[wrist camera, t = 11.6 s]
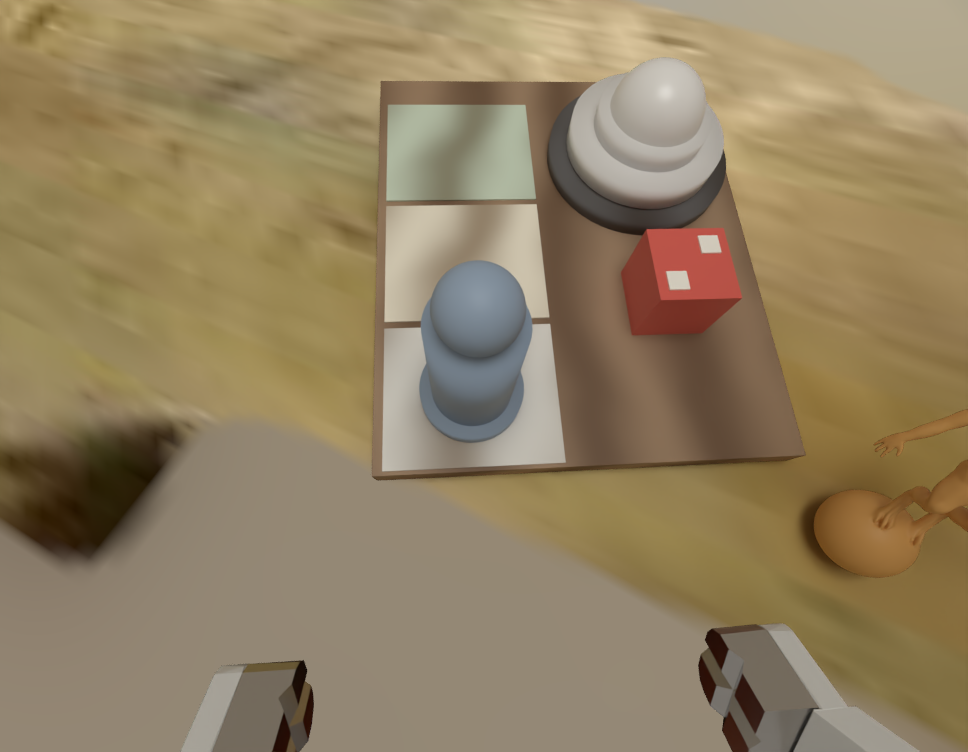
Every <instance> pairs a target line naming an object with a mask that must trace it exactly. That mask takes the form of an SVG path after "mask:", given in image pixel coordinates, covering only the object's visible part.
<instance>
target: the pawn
mask: <svg viewBox="0 0 968 752" xmlns="http://www.w3.org/2000/svg"><path fill="white" fill-rule="evenodd" d="M532 331H533V328H532V319H531V315H530V312H529V309H528V307H527V305H526V301H525V296H524V293H523V290H522V288H521V286H520V284H519V282H518V281H517V279H516V278H515V277H514V276H513V275H512V274H511V273H510V272H509V271H508V270H506V269H505V268H503V267H502V266H500V265H498V264H495V263H492V262H489V261H483V260H474V261H467V262H464V263H461V264H458V265H456V266H455V267H453V268H451V269H450V270H449V271H447V272H446V273H445V274H444V275H443V276H442V277H441V279H440V280H439V281H438V283H437V285H436V286H435V288H434V291H433V294H432V297H431V298H430V299H429V301H428V302H427V304H426V306H425V308H424V311H423V314H422V318H421V335H422V341H423V346H424V352H425V357H426V365H425V367H424V369H423V371H422V374H421V378H420V384H419V392H420V399H421V403H422V407H423V410H424V412H425V415H426V416H427V418H428V420H429V421H430V423H431V424H432V425H433V426H434V427H435V428H436V429H437V430H438V431H439V432H440V433H442V434H443V435H445V436H447V437H449V438H451V439H453V440H456V441H460V442H466V443H476V442H483V441H487V440H490V439H492V438H494V437H496V436H498V435H500V434H501V433H502V432H504V431H505V430H506V429H507V428H508V427H509V426H510V425H511V424H512V422H513V421H514V419H515V418H516V416H517V414H518V412H519V409H520V407H521V404H522V401H523V396H524V382H523V377H522V374H521V368H522V365H523V362H524V359H525V356H526V353H527V351H528V348H529V345H530V342H531V338H532Z"/></svg>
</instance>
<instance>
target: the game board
mask: <svg viewBox="0 0 968 752" xmlns="http://www.w3.org/2000/svg"><path fill="white" fill-rule="evenodd" d="M595 83H597V82H449V81H381V97H380V141H379V185H378V229H377V273H376V317H375V361H374V405H373V449H372V477H373V478H374V479H376V480H396V479H416V478H437V477H457V476H477V475H497V474H517V473H537V472H558V471H578V470H598V469H618V468H638V467H658V466H678V465H699V464H719V463H739V462H759V461H779V460H789V459H793V458H797V457H801V456H805V455H806V454H805V451H804V447H803V443H802V440H801V436H800V433H799V429H798V426H797V422H796V419H795V415H794V412H793V408H792V404H791V401H790V397H789V394H788V390H787V387H786V383H785V380H784V376H783V373H782V369H781V366H780V362H779V358H778V355H777V351H776V348H775V344H774V341H773V337H772V334H771V330H770V327H769V323H768V319H767V316H766V312H765V309H764V305H763V302H762V298H761V295H760V291H759V288H758V284H757V281H756V277H755V273H754V270H753V266H752V263H751V259H750V256H749V252H748V249H747V245H746V242H745V238H744V235H743V231H742V227H741V224H740V220H739V217H738V213H737V210H736V206H735V203H734V199H733V196H732V192H731V188H730V185H729V181H728V178H727V174H726V159H725V154H724V149H723V153H722V156H721V159H720V161H719V163H718V165H717V166H716V168H715V169H714V171H713V172H712V174H711V175H710V177H709V178H708V179H707V181H706V182H705V184H704V185H703V187H702V188H701V189H700V190H699V191H698V192H697V193H696V194H695V195H694V196H693V197H691V198H690V199H688V200H686V201H684V202H682V203H680V204H678V205H674V206H671V207H667V208H661V209H639V208H633V207H628V206H625V205H621V204H618V203H616V202H613V201H611V200H609V199H607V198H605V197H603V196H601V195H600V194H598V193H597V192H595V191H594V190H593V189H591V188H590V187H589V186H588V185H587V184H586V183H585V182H584V181H583V180H582V179H581V178H580V177H579V175H578V174H577V173H576V171H575V170H574V168H573V166H572V164H571V162H570V159H569V157H568V152H567V144H566V140H567V133H568V129H569V126H570V122H571V118H572V114H573V111H574V107H575V105H576V103H577V101H578V99H579V98H580V96H581V95H582V94H583V93H584V92H585V91H586V90H587V89H588V88H589V87H590V86H592V85H593V84H595ZM689 228H724V231H725V235H726V239H727V242H728V246H729V250H730V254H731V257H732V261H733V265H734V269H735V272H736V276H737V280H738V284H739V287H740V291H741V295H742V299H741V300H740V301H738V302H737V303H736V304H735V305H734V306H733V307H732V308H730V309H729V310H728V311H727V312H726V313H725V314H724V315H722V316H721V317H720V318H719V319H718V320H717V321H716V322H714V323H713V324H712V325H711V326H710V327H709V328H707V329H706V330H705V331H704V332H703V333H695V334H662V335H632V333H631V328H630V322H629V316H628V310H627V305H626V299H625V293H624V287H623V282H622V276H621V271H622V270H623V268H624V266H625V265H626V263H627V261H628V260H629V258H630V256H631V255H632V253H633V251H634V249H635V248H636V246H637V244H638V243H639V241H640V239H641V238H642V236H643V234H644V233H645V231H646V229H689ZM474 260H483V261H489V262H492V263H495V264H498V265H500V266H502V267H503V268H505V269H506V270H508V271H509V272H510V273H511V274H512V275H513V276H514V277H515V278H516V279H517V281H518V282H519V284H520V286H521V288H522V290H523V293H524V296H525V301H526V305H527V307H528V309H529V312H530V315H531V319H532V328H533V331H532V338H531V342H530V345H529V348H528V351H527V353H526V356H525V359H524V362H523V365H522V368H521V374H522V377H523V382H524V396H523V401H522V404H521V407H520V409H519V412H518V414H517V416H516V418H515V419H514V421H513V422H512V424H511V425H510V426H509V427H508V428H507V429H506V430H505V431H504V432H502V433H501V434H500V435H498V436H496V437H494V438H492V439H490V440H487V441H483V442H476V443H466V442H460V441H456V440H453V439H451V438H449V437H447V436H445V435H443V434H442V433H440V432H439V431H438V430H437V429H436V428H435V427H434V426H433V425H432V424H431V423H430V421H429V420H428V418H427V416H426V415H425V412H424V410H423V407H422V403H421V399H420V392H419V384H420V378H421V374H422V371H423V369H424V367H425V365H426V357H425V352H424V346H423V341H422V335H421V318H422V314H423V311H424V308H425V306H426V304H427V302H428V301H429V299H430V298H431V297H432V294H433V291H434V288H435V286H436V285H437V283H438V281H439V280H440V279H441V277H442V276H443V275H444V274H445V273H446V272H447V271H449V270H450V269H451V268H453V267H455V266H456V265H458V264H461V263H464V262H467V261H474Z"/></svg>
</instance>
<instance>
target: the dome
mask: <svg viewBox="0 0 968 752" xmlns="http://www.w3.org/2000/svg"><path fill="white" fill-rule="evenodd" d="M566 144H567V152H568V157H569V159H570V162H571V164H572V166H573V168H574V170H575V171H576V173H577V174H578V175H579V177H580V178H581V179H582V180H583V181H584V182H585V183H586V184H587V185H588V186H589V187H590V188H591V189H593V190H594V191H595V192H597V193H598V194H600V195H601V196H603V197H605V198H607V199H609V200H611V201H613V202H616V203H618V204H621V205H625V206H628V207H633V208H639V209H661V208H667V207H671V206H674V205H678V204H680V203H682V202H684V201H686V200H688V199H690V198H691V197H693V196H694V195H695V194H696V193H697V192H698V191H699V190H700V189H701V188H702V187H703V185H704V184H705V182H706V181H707V179H708V178H709V177H710V175H711V174H712V172H713V171H714V169H715V168H716V166H717V165H718V163H719V161H720V159H721V156H722V153H723V147H724V136H723V131H722V128H721V125H720V122H719V120H718V118H717V116H716V115H715V113H714V112H713V110H712V109H711V107H710V106H709V105H708V103H707V101H706V94H705V89H704V86H703V83H702V80H701V78H700V77H699V75H698V74H697V73H696V71H695V70H694V69H693V68H692V67H691V66H690V65H688V64H687V63H685V62H683V61H681V60H678V59H674V58H667V57H662V58H655V59H651V60H648V61H646V62H644V63H642V64H640V65H638V66H637V67H635V68H634V69H632V70H631V71H630V72H628V73H625V74H619V75H614V76H611V77H607V78H605V79H602V80H600V81H598V82H597V83H595V84H593V85H592V86H590V87H589V88H588V89H587V90H586V91H585V92H584V93H583V94H582V95H581V96H580V98H579V99H578V101H577V103H576V105H575V107H574V111H573V114H572V118H571V122H570V126H569V129H568V133H567V140H566Z"/></svg>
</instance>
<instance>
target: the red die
mask: <svg viewBox="0 0 968 752" xmlns="http://www.w3.org/2000/svg"><path fill="white" fill-rule="evenodd" d="M621 276H622V282H623V287H624V293H625V299H626V305H627V310H628V316H629V322H630V328H631V333H632V335H662V334H695V333H703V332H704V331H705V330H706V329H707V328H709V327H710V326H711V325H712V324H713V323H714V322H716V321H717V320H718V319H719V318H720V317H721V316H722V315H724V314H725V313H726V312H727V311H728V310H729V309H730V308H732V307H733V306H734V305H735V304H736V303H737V302H738V301H740V300H741V299H742V295H741V291H740V287H739V284H738V280H737V276H736V272H735V269H734V265H733V261H732V257H731V254H730V250H729V246H728V242H727V239H726V235H725V231H724V228H689V229H646V231H645V233H644V234H643V236H642V238H641V239H640V241H639V243H638V244H637V246H636V248H635V249H634V251H633V253H632V255H631V256H630V258H629V260H628V261H627V263H626V265H625V266H624V268H623V270H622V271H621Z"/></svg>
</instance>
